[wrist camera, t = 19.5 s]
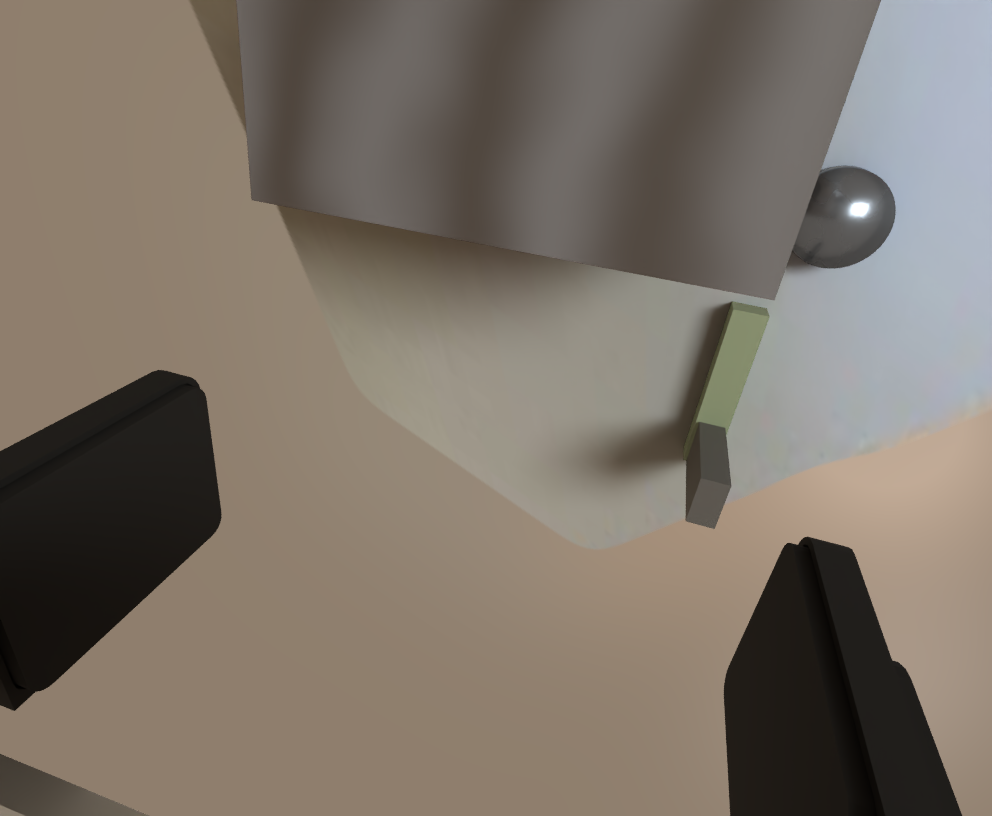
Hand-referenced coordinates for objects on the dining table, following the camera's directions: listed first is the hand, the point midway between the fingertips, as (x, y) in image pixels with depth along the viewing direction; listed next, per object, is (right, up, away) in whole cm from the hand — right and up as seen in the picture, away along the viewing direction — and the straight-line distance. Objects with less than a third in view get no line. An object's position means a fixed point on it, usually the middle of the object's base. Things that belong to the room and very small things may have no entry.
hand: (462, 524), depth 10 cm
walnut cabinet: (+5, +19, +24) cm, 31 cm away
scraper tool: (+15, +3, +29) cm, 33 cm away
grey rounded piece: (+19, +12, +23) cm, 32 cm away
